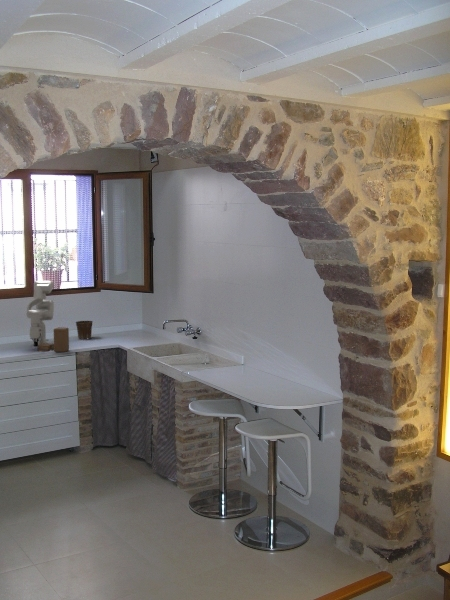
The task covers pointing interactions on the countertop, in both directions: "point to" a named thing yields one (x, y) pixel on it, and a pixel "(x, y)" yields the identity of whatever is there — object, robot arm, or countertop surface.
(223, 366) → the countertop surface
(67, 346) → the wooden block
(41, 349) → the walnut block
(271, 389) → the countertop surface
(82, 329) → the plant pot
